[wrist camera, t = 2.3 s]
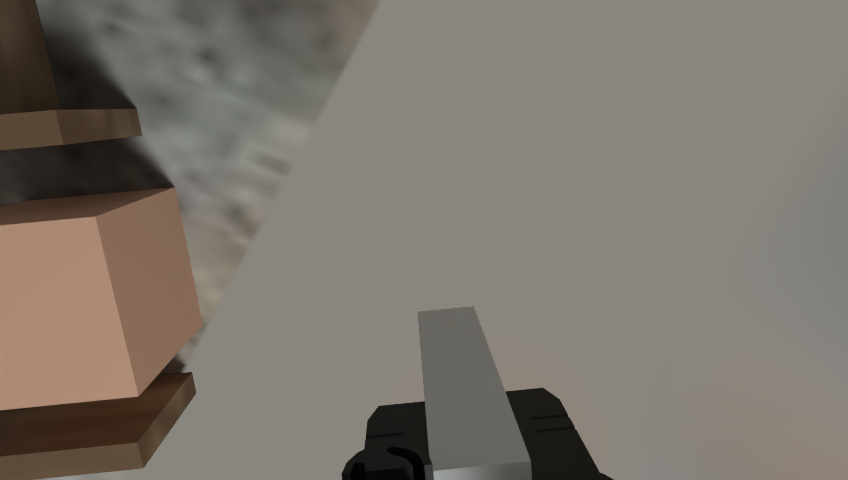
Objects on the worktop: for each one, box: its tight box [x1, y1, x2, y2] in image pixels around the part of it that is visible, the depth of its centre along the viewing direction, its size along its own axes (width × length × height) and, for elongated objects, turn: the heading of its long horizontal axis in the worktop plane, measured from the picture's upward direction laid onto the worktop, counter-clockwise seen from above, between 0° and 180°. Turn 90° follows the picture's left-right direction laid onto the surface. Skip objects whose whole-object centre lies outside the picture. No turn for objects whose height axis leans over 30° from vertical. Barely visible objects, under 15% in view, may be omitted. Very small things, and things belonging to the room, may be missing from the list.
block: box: [0, 187, 203, 410], centre depth 23 cm, size 7×7×7 cm
